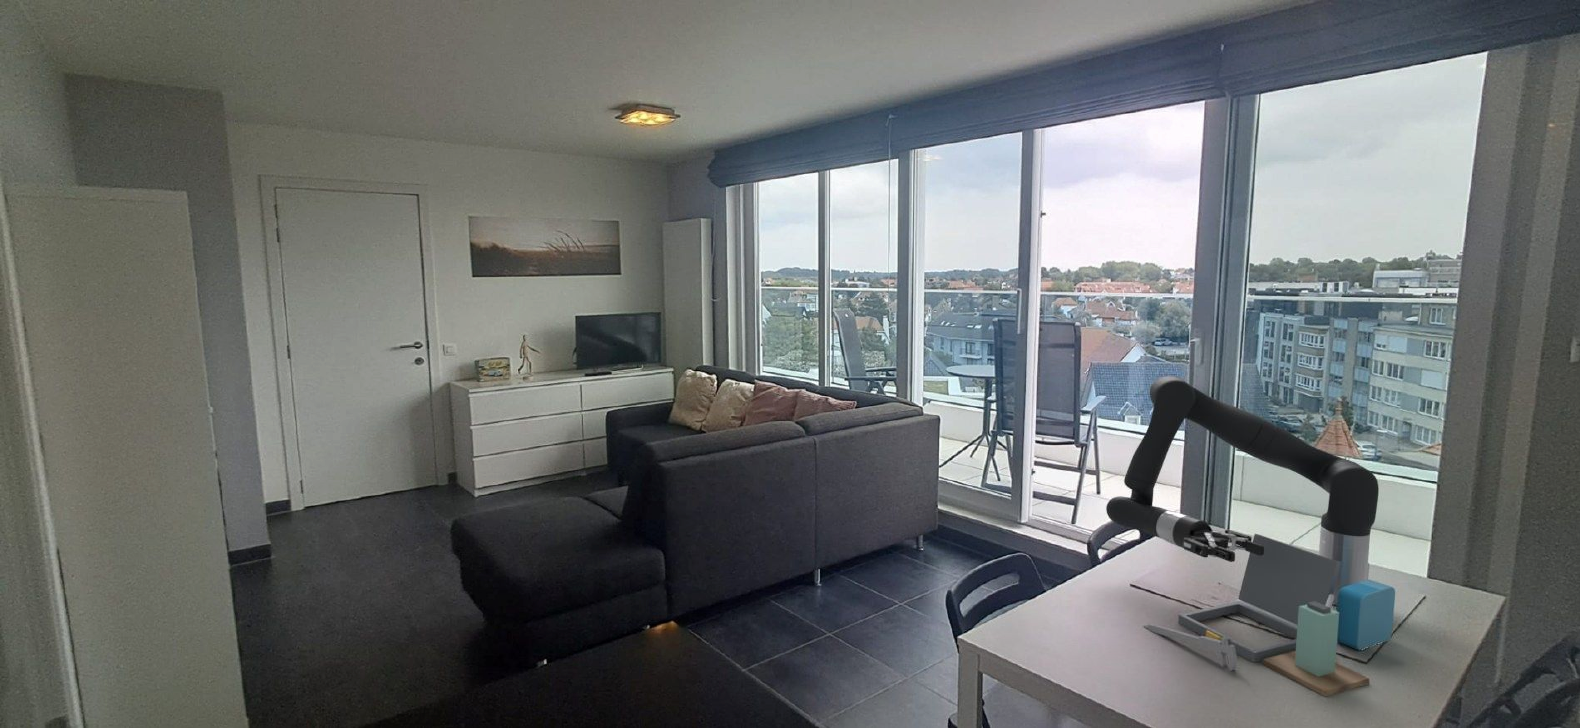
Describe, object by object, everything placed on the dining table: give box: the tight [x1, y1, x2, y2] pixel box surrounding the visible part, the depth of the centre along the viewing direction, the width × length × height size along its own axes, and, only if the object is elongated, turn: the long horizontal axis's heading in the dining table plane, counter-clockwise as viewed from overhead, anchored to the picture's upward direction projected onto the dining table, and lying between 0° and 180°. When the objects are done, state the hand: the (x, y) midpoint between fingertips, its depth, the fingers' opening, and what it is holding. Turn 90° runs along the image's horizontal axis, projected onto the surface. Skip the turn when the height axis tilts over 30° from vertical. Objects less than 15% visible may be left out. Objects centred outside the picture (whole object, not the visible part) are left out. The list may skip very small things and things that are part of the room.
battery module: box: [1295, 601, 1339, 677], centre depth 138 cm, size 4×4×13 cm
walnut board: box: [1262, 651, 1370, 697], centre depth 139 cm, size 12×12×1 cm
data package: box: [1336, 579, 1396, 651], centre depth 150 cm, size 12×4×12 cm, turn 114°
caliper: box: [1142, 622, 1238, 672], centre depth 149 cm, size 20×1×6 cm, turn 24°
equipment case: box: [1177, 533, 1341, 663], centre depth 154 cm, size 24×19×18 cm
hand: (1248, 554), depth 153 cm, fingers open, 8 cm apart
